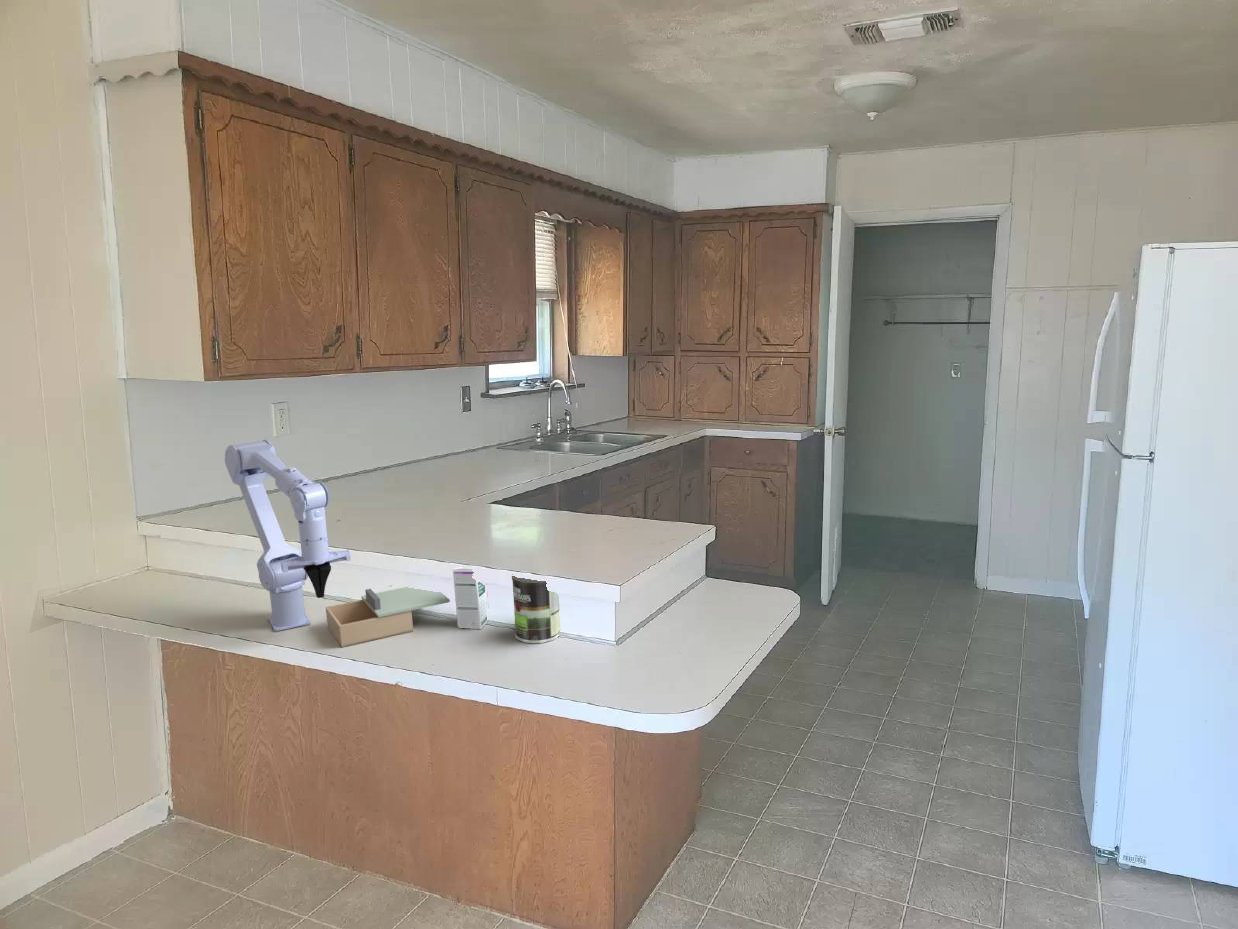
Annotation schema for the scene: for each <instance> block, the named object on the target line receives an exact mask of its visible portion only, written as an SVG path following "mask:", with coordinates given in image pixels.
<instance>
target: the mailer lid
mask: <svg viewBox="0 0 1238 929" xmlns="http://www.w3.org/2000/svg"><path fill="white" fill-rule="evenodd" d="M408 587H409V586H404V587H399V588H395V589H391V590H390V589H389V590H386V591H380V592H379V591H378V592H375V591H373V589H371V588H368V589H367V588H366V589H365V594H364V595H361V600H363V601H364V602H365V603H366V604H367V605H368V606H369V607H370V609H371V610H372V611H373V612H374V613H375V614H376V615H377V617H378V618H379V617H383V616H388V615H392V614H397V613H402V612H406V611H415V610H420V609H423V608H429V607H432V606H433V607H434V606H438V605H443V604H446V603H451V600H450V598H448V597H447V596H446V594H444V593H443V592H441V591H440V592H433V591H427V590H421V589H414V588H408Z"/></svg>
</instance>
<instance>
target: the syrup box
mask: <svg viewBox="0 0 1238 929" xmlns="http://www.w3.org/2000/svg"><path fill="white" fill-rule="evenodd" d="M456 567H457V566H456ZM456 567H455V568H453V569H452V575H453V585H454V598H455V599H454V600H455V608H456V622H457V628H458V629H462V628H470V629H469V630H482V628H483V627H484V626H485V625H486V624H487V623H488V622H487V602H486V593H485V585H483V584H482V583H480V582H477V581H476V580H475V579H473V578H472V576H473V575H472V574H473V573H474V572H473V571H472V569H471V568H462V567H457V568H456Z"/></svg>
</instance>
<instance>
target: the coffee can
mask: <svg viewBox="0 0 1238 929" xmlns="http://www.w3.org/2000/svg"><path fill="white" fill-rule="evenodd" d="M511 580H512V592H513V595H512V596H513V608H514V610H513V611H514V631H515V634H514V637H515V638H516V640H518V641H519V642H521V643H525V644H526V643H527V644H544V643H548V641H549V642H552V641H555V640H556V639H558V638H559V637H560V636H559V633H560V631H561V616H559V611H560V595H559V596H558V594H557V593H555V592H551V591H548V590H547V587H546V584H547V583H546V581H537V580H531V579H525V578H517V577H515V576H512V575H511ZM558 636H559V637H558ZM557 637H558V638H557ZM555 638H556V639H555ZM554 639H555V640H554ZM551 640H552V641H551Z"/></svg>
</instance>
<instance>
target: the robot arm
mask: <svg viewBox="0 0 1238 929" xmlns="http://www.w3.org/2000/svg"><path fill="white" fill-rule="evenodd" d="M224 463H225V466H226V470H227V471H228V474H229V477H230V478H231V481H232V484H234V485H237V486H238V487H239V489H240V492H241V494H242V497H243V499H244V502H245V504H246V505H245V506H247V510H248V513H249V515H250V518H251V520H252V523H253V526H254V527H255V531H256V533H257V536H258V538H259V541H260V543H261V546H262V548H263V552H262V554H261V556H260V557H259V558H258V559H257V563H256V568H257V572H258V578H259V579H258V580H259V581H260V585H261V586H262V587H263V589H265V590H266V591H268V592H269V597H270V598H269V599H270V600H269V601H270V607H271V616H269V617H268V618H267V619H268V622H269V623H270V625H271V627H272V629H273V631H274V632H279V631H284V630H288V629H293V628H298V627H303V626H307V625H310V624H311V621H310V619H309V618H308V616H307V615H306V612H305V611H306V608H305V600H304V593H303V586H305V584H306V583H305V581H306V580H307V579H308V578H309V579H310V580H309V581H310V583H311V584H312V586H313V589H314V593H315V596H316V598H317V599H319V598H324V597H325V589H326V586H327V585H326V584H327V581H328V578H329V576H330V573H331V571H332V565H331V564H332V563H336V562H343V561H346V562H347V561H351V559H352V558H351V552H350V551H349V549H346V550H338V551H336V550H335V551H330V549H329V538H328V531H327V530H328V528H327V520H326V512H325V511H326V510H325V508H326V507H327V506H328V505H329V502H330V496H329V491H328V488H327V487H326V485H325V484H324V483H323V482H322V481H320V480H319V481H311V480H310V479H309V478H308V477H306V476H305V475H304V474H302V472H301V471H300V470H298V469H297V468H296V467H295V466H288V467H287V465H285V464H284V463H283V462H282V460H281V459H280V458H279V457H278V456H277V453H276V448H275V445H273V443H272V442H271V441H270V440H267V439H262V440H260V441H259V440H258V441H253V442H248V443H242V444H235V445H234V444H233V445H229V446H227V447H226V450H225V452H224ZM269 477H271V478H273V479H274V481H275V482H274V484H275V486H276V488H277V489H279V490H280V491H281V492H282V493H283V494H284V495H285V496H286V497H288V499H289V502H290V505H291V508H292V510H293V512H294V517H295V519H296V521H298V522H297V523H298V525H297V526H298V532H299V533H298V534H299V541H300V549H299V548H298V547H295V546H293V545H289V544H288V543H287V542H286V539H285V537H284V534H283V532H282V529H281V526H280V524H279V522H278V520H277V516H276V514H275V511H274V509H273V506H272V504H271V501H270V498H269V496H268V494H267V491H266V490H267V489H266V488H265V485H264V481H265V480H266V479H268V478H269Z"/></svg>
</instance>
